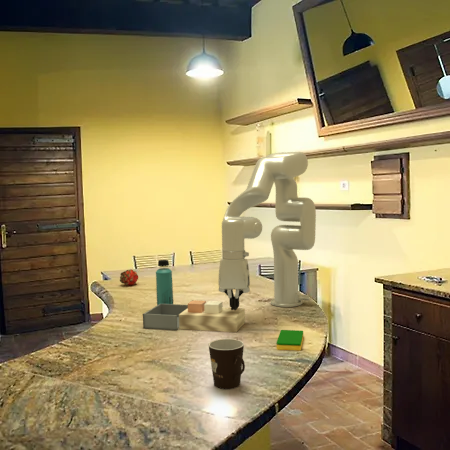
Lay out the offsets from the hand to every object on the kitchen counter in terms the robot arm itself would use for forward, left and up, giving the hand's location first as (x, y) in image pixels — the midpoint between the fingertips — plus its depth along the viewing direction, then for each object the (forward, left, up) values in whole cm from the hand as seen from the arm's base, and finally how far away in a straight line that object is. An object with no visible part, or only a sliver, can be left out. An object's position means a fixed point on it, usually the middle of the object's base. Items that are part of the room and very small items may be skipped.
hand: (234, 309), depth 175 cm
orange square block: (+13, 0, -1) cm, 14 cm away
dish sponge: (-21, +13, -7) cm, 26 cm away
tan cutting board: (+8, 0, -6) cm, 10 cm away
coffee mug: (-11, +50, -7) cm, 52 cm away
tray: (+24, 0, -6) cm, 25 cm away
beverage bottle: (+32, -16, -7) cm, 36 cm away
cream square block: (+7, 0, -1) cm, 8 cm away
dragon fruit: (+69, -61, -7) cm, 92 cm away
